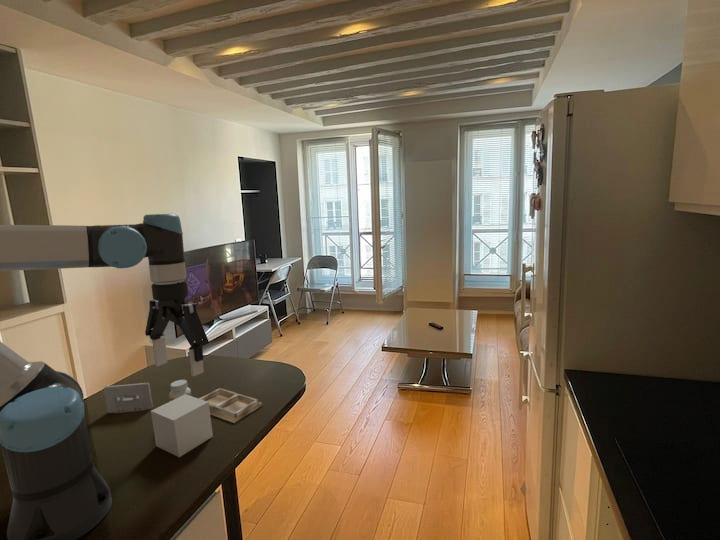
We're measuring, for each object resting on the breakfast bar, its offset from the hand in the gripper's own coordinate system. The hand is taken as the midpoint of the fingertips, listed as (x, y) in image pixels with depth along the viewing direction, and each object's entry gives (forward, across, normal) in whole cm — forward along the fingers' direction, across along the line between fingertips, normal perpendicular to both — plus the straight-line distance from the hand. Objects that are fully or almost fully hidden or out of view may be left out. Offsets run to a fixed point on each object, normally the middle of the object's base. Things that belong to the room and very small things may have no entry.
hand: (179, 368), depth 95 cm
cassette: (+18, +26, -1) cm, 32 cm away
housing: (+17, -2, +2) cm, 17 cm away
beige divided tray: (+17, +2, -14) cm, 22 cm away
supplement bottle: (+17, +9, -6) cm, 20 cm away
